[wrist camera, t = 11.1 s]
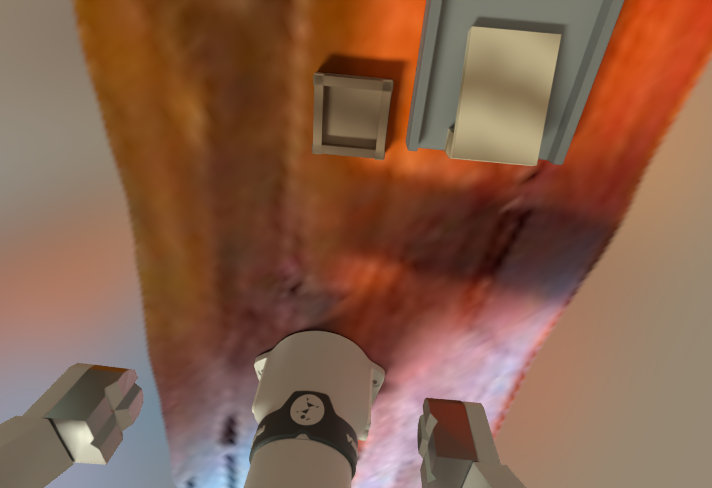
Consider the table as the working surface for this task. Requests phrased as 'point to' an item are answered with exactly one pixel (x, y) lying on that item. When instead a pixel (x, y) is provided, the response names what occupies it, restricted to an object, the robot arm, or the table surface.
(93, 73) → the table surface
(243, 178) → the table surface
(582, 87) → the grey railed platform
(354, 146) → the brown square wooden tray
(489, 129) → the ramp
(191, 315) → the table surface
